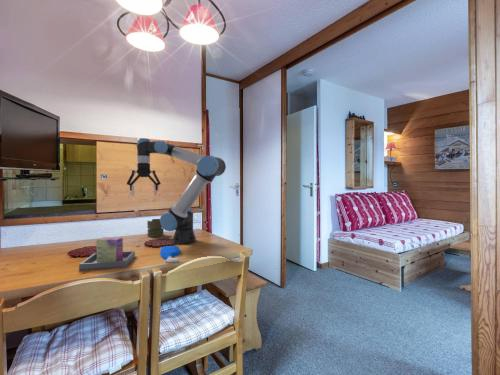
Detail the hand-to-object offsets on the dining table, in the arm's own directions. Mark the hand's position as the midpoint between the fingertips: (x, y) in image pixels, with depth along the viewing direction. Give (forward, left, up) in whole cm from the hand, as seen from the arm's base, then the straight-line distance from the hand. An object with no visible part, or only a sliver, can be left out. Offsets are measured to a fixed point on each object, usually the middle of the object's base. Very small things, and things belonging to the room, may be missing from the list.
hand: (144, 195), depth 164 cm
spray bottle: (-19, +30, -32) cm, 48 cm away
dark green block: (-3, -25, -32) cm, 41 cm away
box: (+10, +36, -31) cm, 49 cm away
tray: (+10, +36, -32) cm, 49 cm away
